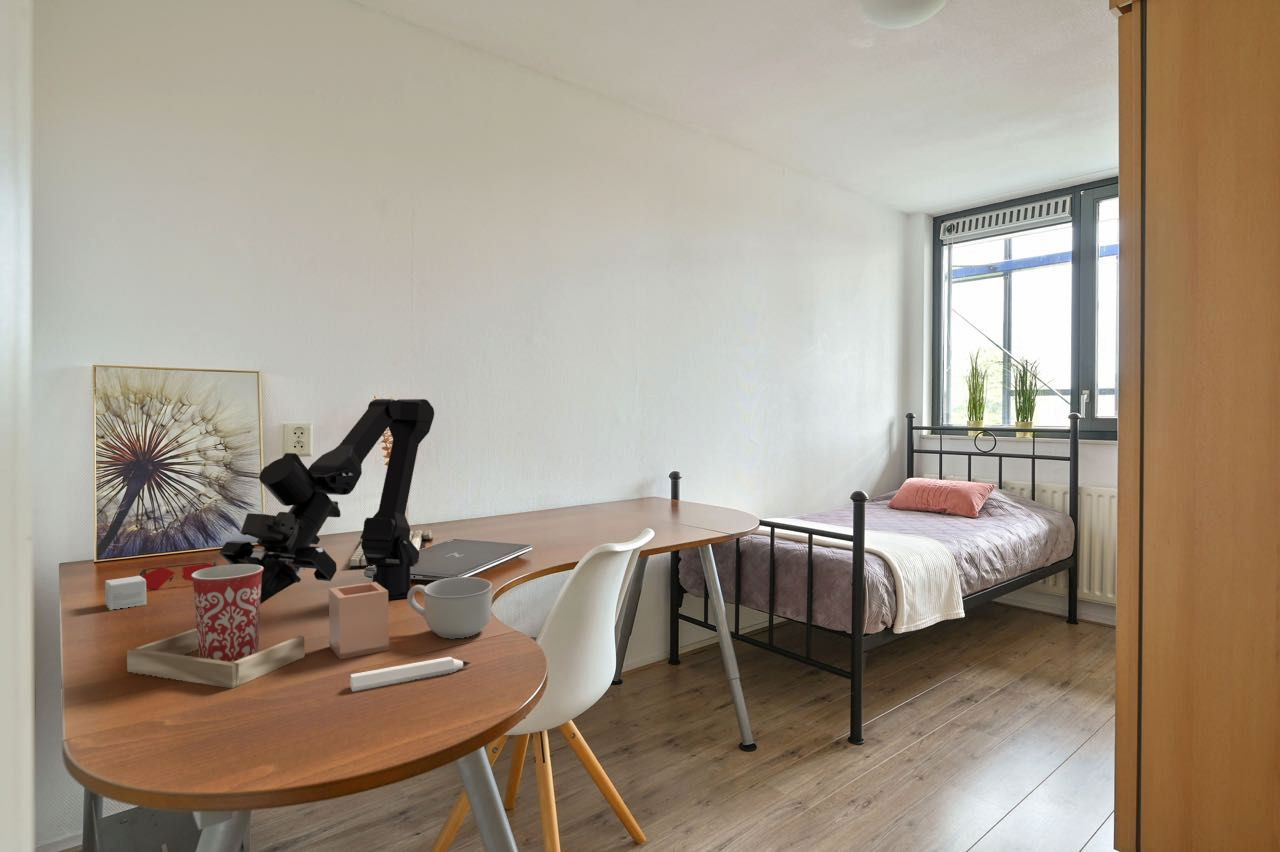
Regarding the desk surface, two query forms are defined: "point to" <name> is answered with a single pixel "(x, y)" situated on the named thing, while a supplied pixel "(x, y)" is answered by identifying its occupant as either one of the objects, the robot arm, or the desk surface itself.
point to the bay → (208, 661)
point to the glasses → (170, 574)
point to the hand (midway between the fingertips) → (247, 607)
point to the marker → (404, 673)
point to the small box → (125, 592)
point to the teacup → (454, 605)
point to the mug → (228, 610)
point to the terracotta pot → (358, 619)
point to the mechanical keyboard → (417, 539)
